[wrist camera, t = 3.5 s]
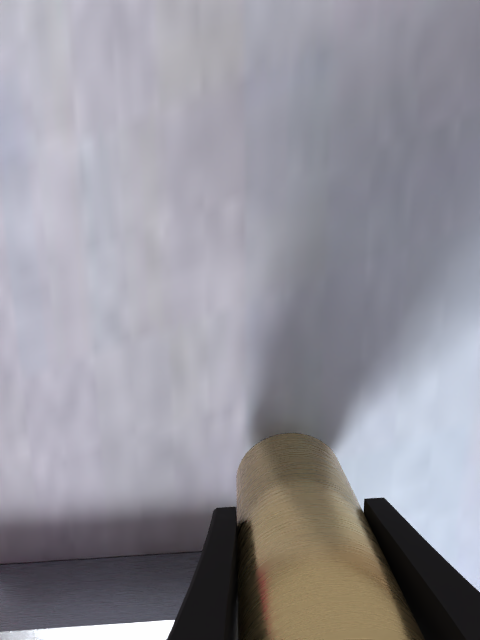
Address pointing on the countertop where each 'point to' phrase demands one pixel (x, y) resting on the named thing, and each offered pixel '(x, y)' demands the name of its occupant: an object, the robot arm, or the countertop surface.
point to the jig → (95, 597)
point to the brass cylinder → (310, 551)
